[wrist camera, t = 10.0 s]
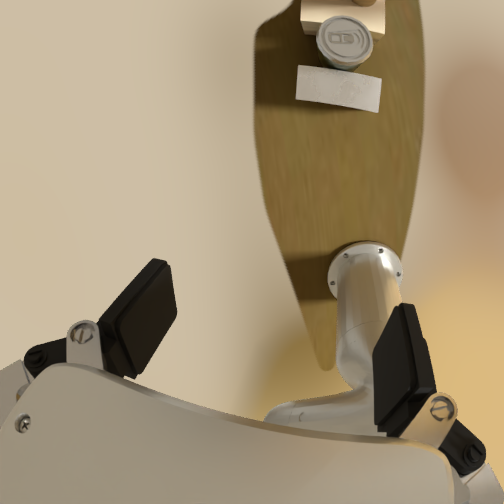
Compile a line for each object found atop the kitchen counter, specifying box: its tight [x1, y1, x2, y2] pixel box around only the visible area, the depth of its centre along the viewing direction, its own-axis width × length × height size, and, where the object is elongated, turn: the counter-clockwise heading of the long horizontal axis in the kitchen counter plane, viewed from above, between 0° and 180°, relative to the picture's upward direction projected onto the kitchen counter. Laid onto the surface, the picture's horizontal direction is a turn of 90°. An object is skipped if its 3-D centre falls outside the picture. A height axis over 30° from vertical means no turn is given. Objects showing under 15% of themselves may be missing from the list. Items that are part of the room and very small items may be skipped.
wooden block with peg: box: [300, 0, 385, 45], centre depth 19 cm, size 6×9×14 cm, turn 87°
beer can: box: [316, 15, 373, 72], centre depth 23 cm, size 5×5×12 cm
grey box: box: [296, 65, 382, 113], centre depth 28 cm, size 4×9×7 cm, turn 87°
